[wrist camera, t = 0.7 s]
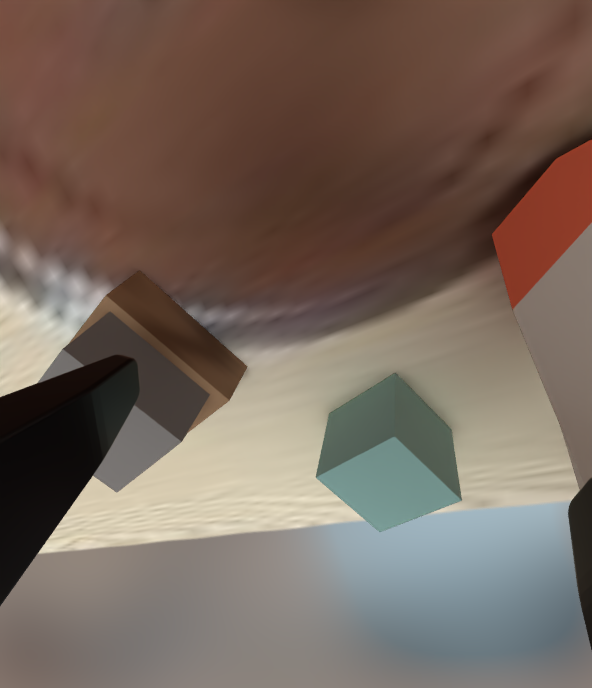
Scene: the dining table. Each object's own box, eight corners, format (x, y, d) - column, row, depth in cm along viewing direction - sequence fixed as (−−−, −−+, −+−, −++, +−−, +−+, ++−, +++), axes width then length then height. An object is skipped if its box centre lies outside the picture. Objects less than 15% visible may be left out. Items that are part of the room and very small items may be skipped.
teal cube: (451, 428, 24) (461, 500, 20) (382, 462, 27) (379, 532, 23) (395, 371, 23) (394, 436, 19) (329, 412, 26) (315, 477, 21)
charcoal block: (210, 394, 22) (181, 441, 19) (149, 445, 26) (117, 492, 23) (109, 311, 21) (62, 348, 18) (58, 376, 24) (11, 417, 21)
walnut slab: (249, 363, 25) (229, 400, 22) (177, 422, 29) (152, 459, 26) (142, 268, 23) (106, 295, 20) (81, 345, 27) (43, 376, 24)
